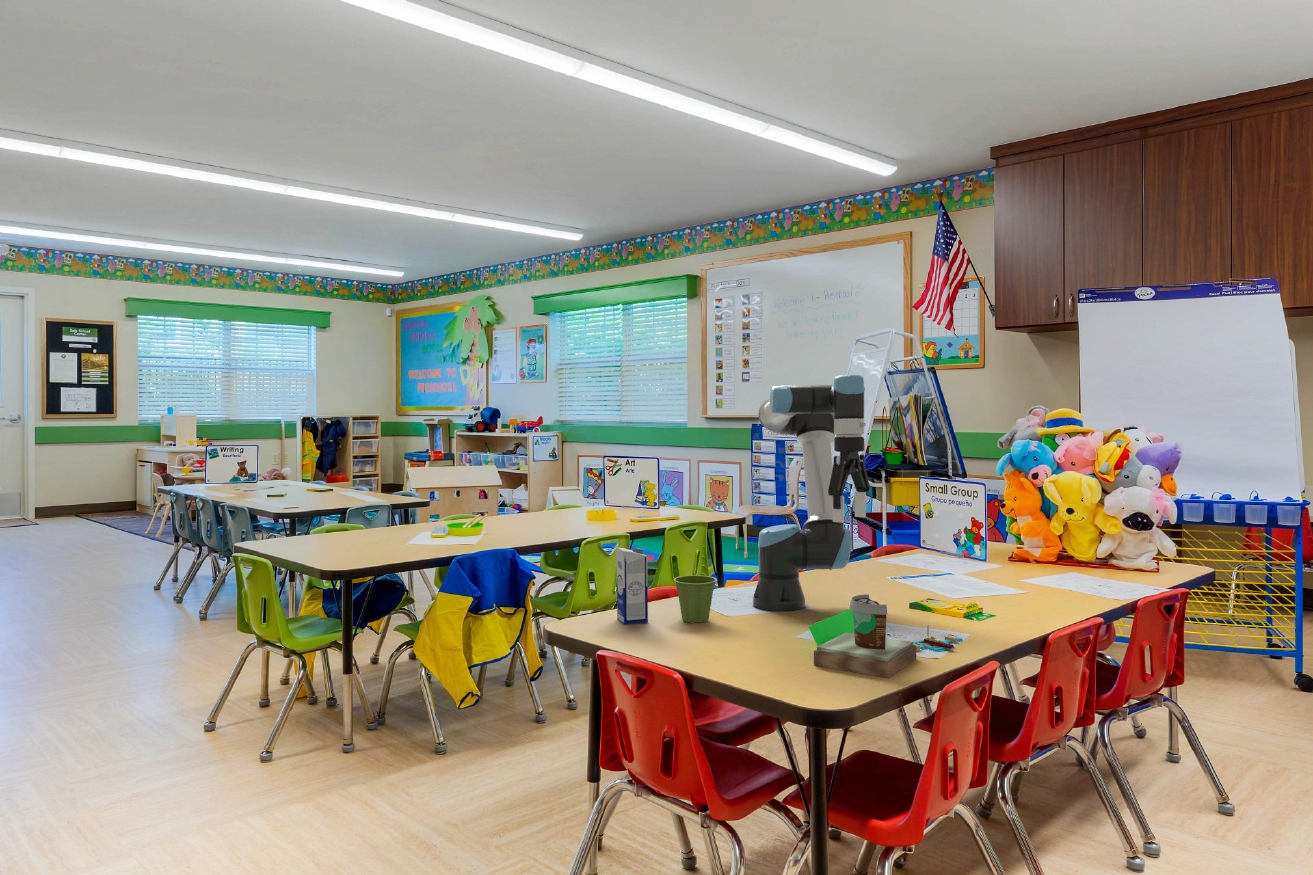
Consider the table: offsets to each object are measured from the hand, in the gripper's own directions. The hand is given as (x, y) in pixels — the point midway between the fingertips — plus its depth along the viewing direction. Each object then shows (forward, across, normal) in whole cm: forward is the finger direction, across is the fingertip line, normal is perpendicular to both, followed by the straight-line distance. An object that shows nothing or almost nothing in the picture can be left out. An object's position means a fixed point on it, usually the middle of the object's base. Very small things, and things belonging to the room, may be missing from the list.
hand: (849, 519), depth 218 cm
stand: (+29, -24, -14) cm, 40 cm away
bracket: (+29, -13, 0) cm, 32 cm away
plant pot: (+29, -11, +40) cm, 51 cm away
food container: (+25, -24, -14) cm, 37 cm away
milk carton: (+29, -21, +54) cm, 65 cm away
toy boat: (+29, -2, -22) cm, 37 cm away
